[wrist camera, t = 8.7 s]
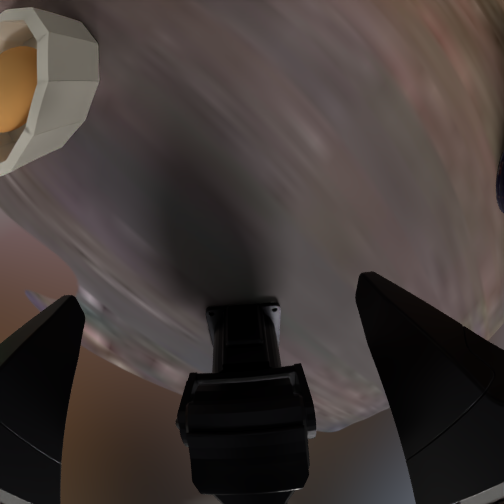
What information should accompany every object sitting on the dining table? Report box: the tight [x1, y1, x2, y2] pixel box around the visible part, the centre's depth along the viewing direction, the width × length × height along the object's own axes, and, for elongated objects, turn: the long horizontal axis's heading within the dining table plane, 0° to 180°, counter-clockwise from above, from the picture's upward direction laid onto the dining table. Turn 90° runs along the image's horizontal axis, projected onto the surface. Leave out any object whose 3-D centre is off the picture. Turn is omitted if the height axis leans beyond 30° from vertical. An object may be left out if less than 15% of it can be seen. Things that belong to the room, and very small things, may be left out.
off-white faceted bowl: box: [0, 7, 100, 177], centre depth 10 cm, size 11×11×6 cm
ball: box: [0, 46, 37, 133], centre depth 9 cm, size 6×6×6 cm
